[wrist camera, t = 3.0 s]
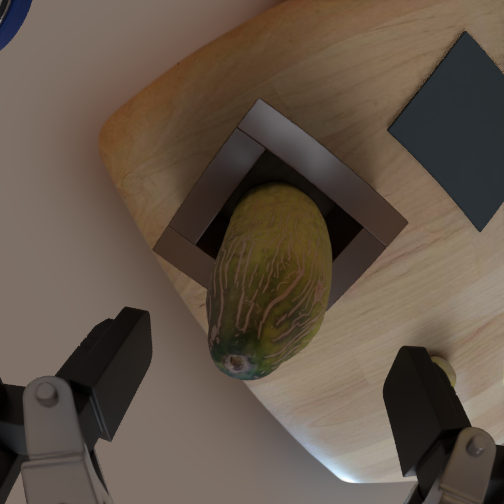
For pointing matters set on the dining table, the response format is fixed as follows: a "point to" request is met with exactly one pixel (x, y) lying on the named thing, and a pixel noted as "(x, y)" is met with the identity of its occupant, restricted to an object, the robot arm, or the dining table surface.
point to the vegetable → (268, 281)
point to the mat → (460, 129)
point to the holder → (306, 164)
